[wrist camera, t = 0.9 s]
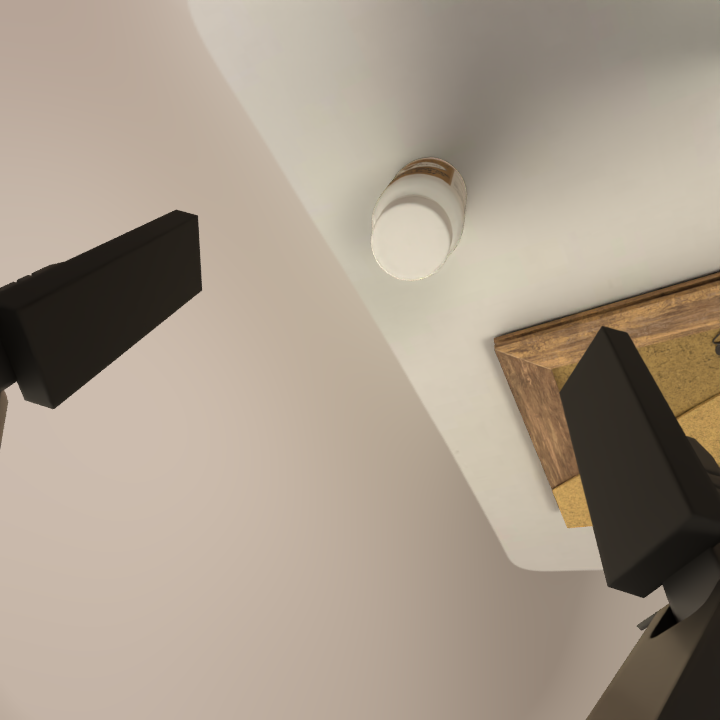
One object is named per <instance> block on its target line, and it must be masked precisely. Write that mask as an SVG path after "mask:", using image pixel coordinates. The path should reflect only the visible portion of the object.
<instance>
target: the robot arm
mask: <svg viewBox="0 0 720 720" xmlns="http://www.w3.org/2000/svg"><path fill="white" fill-rule="evenodd" d="M200 264H201V263H200V246H199V227H198V216H197V215H194V214H190V213H186V212H183V211H179V210H175V211H172V212H170V213H168V214H166V215H164V216H162V217H160V218H157V219H155V220H153V221H151V222H149V223H147V224H144V225H142V226H140V227H138V228H136V229H134V230H132V231H129V232H127V233H125V234H123V235H121V236H119V237H117V238H114V239H113V240H110V241H108V242H106V243H104V244H102V245H99V246H97V247H95V248H93V249H91V250H89V251H87V252H85V253H82V254H80V255H78V256H76V257H74V258H72V259H70V260H67V261H65V262H61V263H57V264H52V265H49V266H47V267H44V268H42V269H40V270H38V271H36V272H34V273H32V275H31V276H30V275H27V276H25V277H23V278H20V279H18V280H17V282H12V283H10V284H7V285H5V286H3V287H1V288H0V447H1V441H2V435H3V429H4V423H5V417H6V411H7V405H8V400H7V396H6V394H5V392H4V389H6V388H8V387H9V386H10V385H12V384H13V383H15V382H16V381H17V383H18V385H19V387H20V390H21V392H22V394H23V397H24V399H25V400H26V401H29V402H33V403H36V404H39V405H42V406H45V407H48V408H51V409H55V408H56V407H57V406H58V405H60V404H61V403H62V402H63V401H65V400H66V399H67V398H68V397H70V396H71V395H72V394H73V393H75V392H76V391H77V390H78V389H80V388H81V387H82V386H83V385H85V384H86V383H87V382H88V381H90V380H91V379H92V378H93V377H95V376H96V375H97V374H98V373H100V372H101V371H102V370H103V369H105V368H106V367H107V366H108V365H110V364H111V363H112V362H113V361H115V360H116V359H117V358H118V357H119V356H121V355H122V354H123V353H124V352H126V351H127V350H128V349H129V348H131V347H132V346H133V345H134V344H136V343H137V342H138V341H139V340H141V339H142V338H143V337H144V336H145V335H147V334H148V333H149V332H151V331H152V330H153V329H154V328H156V326H158V325H159V324H161V323H162V322H163V321H164V320H166V319H167V318H168V317H169V316H171V315H172V314H173V313H174V312H176V311H177V310H178V309H179V308H181V307H182V306H183V305H184V304H185V303H187V302H188V301H189V300H190V299H192V298H193V297H194V296H195V295H197V294H198V293H199V292H200V291H202V281H201V265H200ZM559 394H560V398H561V402H562V406H563V410H564V414H565V418H566V422H567V426H568V430H569V434H570V438H571V442H572V446H573V450H574V454H575V458H576V462H577V466H578V470H579V474H580V478H581V482H582V486H583V490H584V494H585V498H586V502H587V506H588V510H589V514H590V518H591V522H592V526H593V530H594V534H595V538H596V542H597V546H598V550H599V554H600V558H601V562H602V566H603V570H604V573H605V578H606V582H607V586H608V587H611V588H614V589H617V590H620V591H623V592H627V593H630V594H633V595H636V596H639V597H642V598H645V597H646V596H648V595H649V594H650V593H652V592H653V591H654V590H656V589H657V588H658V587H660V586H661V585H663V587H664V590H665V593H666V596H667V598H668V601H669V604H668V605H666V606H665V607H663V608H662V609H660V610H659V611H658V612H656V613H655V614H653V615H652V616H650V617H649V618H647V619H646V620H644V621H643V622H641V623H640V624H638V625H637V627H638V628H639V629H640V630H644V629H645V628H647V629H646V630H645V632H644V633H643V635H642V636H641V638H640V639H639V641H638V642H637V644H636V645H635V647H634V648H633V650H632V651H631V653H630V654H629V656H628V657H627V659H626V660H625V662H624V663H623V665H622V666H621V668H620V669H619V671H618V672H617V674H616V675H615V677H614V678H613V680H612V681H611V683H610V684H609V686H608V687H607V689H606V690H605V692H604V693H603V695H602V696H601V698H600V699H599V701H598V702H597V704H596V705H595V707H594V708H593V710H592V711H591V713H590V715H589V716H588V717H587V719H586V720H720V468H719V466H718V464H717V463H716V461H715V459H714V458H713V456H712V455H711V454H710V453H709V452H708V451H707V450H706V449H705V448H704V447H703V446H702V445H701V444H700V443H699V442H698V441H697V440H696V439H695V438H692V437H689V436H686V435H685V433H684V431H683V429H682V428H681V426H680V424H679V422H678V421H677V419H676V417H675V415H674V413H673V412H672V410H671V408H670V406H669V405H668V403H667V401H666V399H665V398H664V396H663V394H662V392H661V391H660V389H659V387H658V385H657V384H656V382H655V380H654V378H653V376H652V375H651V373H650V371H649V369H648V368H647V366H646V364H645V362H644V361H643V359H642V357H641V355H640V354H639V352H638V350H637V348H636V346H635V345H634V343H633V341H632V339H631V338H630V336H629V334H628V333H627V332H624V331H620V330H616V329H613V328H609V327H605V326H601V328H600V330H599V331H598V333H597V334H596V336H595V337H594V339H593V340H592V342H591V344H590V345H589V347H588V348H587V350H586V351H585V353H584V355H583V356H582V358H581V359H580V361H579V362H578V364H577V365H576V367H575V369H574V370H573V372H572V373H571V375H570V376H569V378H568V380H567V381H566V383H565V384H564V386H563V387H562V389H561V391H560V392H559Z"/></svg>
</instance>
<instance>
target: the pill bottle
mask: <svg viewBox="0 0 720 720" xmlns="http://www.w3.org/2000/svg"><path fill="white" fill-rule="evenodd" d="M466 200H467V193H466V187H465V183H464V180H463V178H462V176H461V175H460V173H459V172H458V171H457V170H456V169H455V167H453V166H452V165H451V164H449V163H448V162H446V161H444V160H442V159H438V158H433V157H427V158H421V159H417V160H415V161H413V162H411V163H409V164H407V165H406V166H405V167H403V168H402V169H401V170H400V172H399V173H398V174H397V175H396V176H395V177H394V179H393V180H392V181H391V183H390V184H389V185H388V186H387V188H386V189H385V190H384V191H383V193H382V194H381V196H380V197H379V199H378V201H377V203H376V205H375V208H374V211H373V216H372V229H373V230H372V235H371V247H372V252H373V255H374V257H375V259H376V261H377V263H378V264H379V266H380V267H381V268H382V269H383V270H384V271H385V272H387V273H388V274H389V275H391V276H393V277H395V278H397V279H401V280H407V281H414V280H421V279H424V278H427V277H429V276H431V275H432V274H434V273H435V272H436V271H437V270H439V269H440V267H441V266H442V265H443V264H444V262H445V260H446V259H447V257H448V256H449V255H450V254H451V253H452V252H453V251H454V249H455V248H456V246H457V244H458V243H459V240H460V238H461V235H462V231H463V226H464V218H465V209H466Z"/></svg>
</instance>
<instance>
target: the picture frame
mask: <svg viewBox="0 0 720 720" xmlns="http://www.w3.org/2000/svg"><path fill="white" fill-rule="evenodd" d="M601 326H605V327H609V328H613V329H616V330H620V331H624V332H627V333H628V334H629V336H630V338H631V339H632V341H633V343H634V345H635V346H636V348H637V350H638V352H639V354H640V355H641V357H642V359H643V361H644V362H645V364H646V366H647V368H648V369H649V371H650V373H651V375H652V376H653V378H654V380H655V382H656V384H657V385H658V387H659V389H660V391H661V392H662V394H663V396H664V398H665V399H666V401H667V403H668V405H669V406H670V408H671V410H672V412H673V413H674V415H675V417H676V419H677V421H678V422H679V424H680V426H681V428H682V429H683V431H684V433H685V435H686V436H689V437H692V438H695V439H696V440H697V441H698V442H699V443H700V444H701V445H702V446H703V447H704V448H705V449H706V450H707V451H708V452H709V453H710V454H711V455H712V456H713V458H714V459H715V461H716V463H717V464H718V466H719V468H720V272H718V273H715V274H711V275H708V276H704V277H701V278H698V279H694V280H691V281H687V282H684V283H681V284H677V285H674V286H670V287H667V288H663V289H660V290H657V291H653V292H650V293H646V294H643V295H639V296H636V297H633V298H629V299H626V300H622V301H619V302H616V303H612V304H609V305H605V306H602V307H598V308H595V309H592V310H588V311H585V312H581V313H578V314H574V315H571V316H568V317H564V318H561V319H557V320H554V321H551V322H547V323H544V324H540V325H537V326H533V327H530V328H527V329H523V330H520V331H516V332H513V333H509V334H506V335H503V336H499V337H496V338H494V343H495V345H494V347H495V352H496V355H497V357H498V359H499V362H500V364H501V367H502V369H503V372H504V374H505V376H506V379H507V381H508V384H509V386H510V389H511V391H512V393H513V396H514V398H515V401H516V403H517V406H518V408H519V410H520V413H521V415H522V418H523V420H524V423H525V425H526V427H527V430H528V432H529V435H530V437H531V440H532V442H533V445H534V447H535V449H536V452H537V454H538V457H539V459H540V462H541V464H542V466H543V469H544V471H545V474H546V476H547V479H548V481H549V483H550V486H551V488H552V492H553V494H554V497H555V499H556V501H557V504H558V506H559V509H560V511H561V514H562V516H563V518H564V521H565V523H566V526H567V528H575V527H586V526H592V522H591V518H590V514H589V510H588V506H587V502H586V498H585V494H584V490H583V486H582V482H581V478H580V474H579V470H578V466H577V462H576V458H575V454H574V450H573V446H572V442H571V438H570V434H569V430H568V426H567V422H566V418H565V414H564V410H563V406H562V402H561V398H560V394H559V392H560V391H561V389H562V387H563V386H564V384H565V383H566V381H567V380H568V378H569V376H570V375H571V373H572V372H573V370H574V369H575V367H576V365H577V364H578V362H579V361H580V359H581V358H582V356H583V355H584V353H585V351H586V350H587V348H588V347H589V345H590V344H591V342H592V340H593V339H594V337H595V336H596V334H597V333H598V331H599V330H600V328H601Z"/></svg>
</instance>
